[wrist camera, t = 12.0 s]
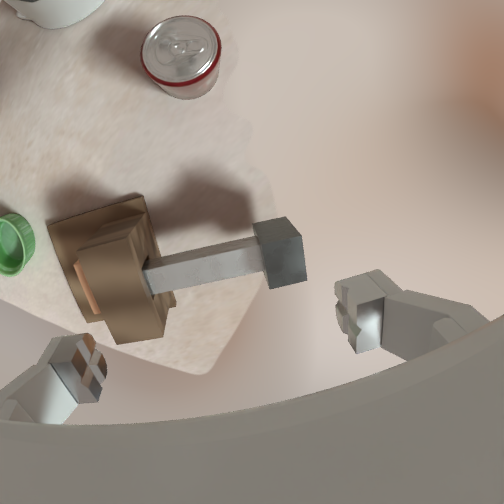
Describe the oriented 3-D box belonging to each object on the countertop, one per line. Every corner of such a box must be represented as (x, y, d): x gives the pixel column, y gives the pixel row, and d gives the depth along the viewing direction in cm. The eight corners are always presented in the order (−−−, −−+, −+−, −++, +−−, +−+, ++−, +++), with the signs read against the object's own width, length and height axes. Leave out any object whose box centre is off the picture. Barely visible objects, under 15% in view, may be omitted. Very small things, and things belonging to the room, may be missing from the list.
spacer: (89, 247, 38) (73, 265, 32) (108, 242, 38) (93, 259, 33) (106, 291, 41) (94, 314, 35) (125, 288, 41) (114, 310, 35)
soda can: (159, 102, 34) (137, 90, 23) (160, 49, 31) (140, 17, 20) (218, 99, 34) (221, 84, 23) (219, 45, 32) (222, 11, 21)
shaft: (123, 253, 36) (106, 279, 29) (285, 216, 36) (301, 235, 30) (136, 289, 37) (123, 319, 31) (291, 255, 38) (307, 280, 32)
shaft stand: (50, 224, 37) (10, 253, 27) (143, 195, 38) (119, 218, 28) (89, 319, 43) (66, 363, 33) (176, 302, 44) (168, 350, 34)
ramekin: (17, 274, 39) (4, 286, 35) (-11, 230, 36) (-26, 239, 32) (48, 246, 38) (35, 258, 34) (17, 197, 35) (1, 205, 31)
